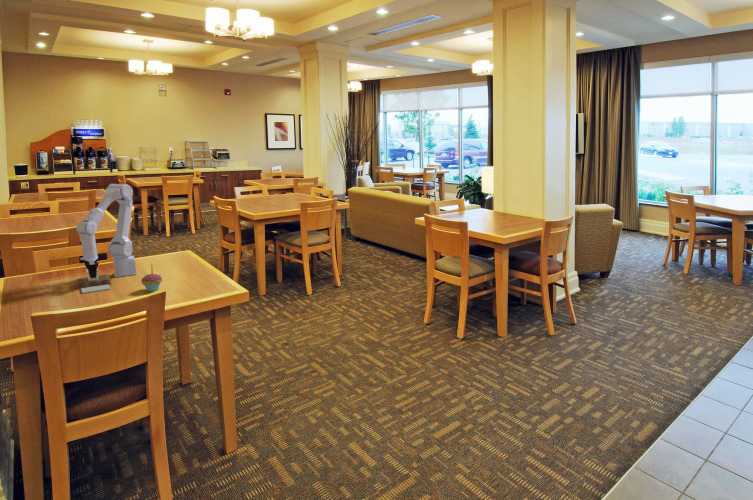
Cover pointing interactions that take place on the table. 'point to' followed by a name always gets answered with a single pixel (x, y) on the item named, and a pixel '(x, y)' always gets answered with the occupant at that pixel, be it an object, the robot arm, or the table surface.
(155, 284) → the cupcake
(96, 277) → the cream block
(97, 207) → the robot arm
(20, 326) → the table surface
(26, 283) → the table surface
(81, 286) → the pocket board
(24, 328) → the table surface
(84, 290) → the grey mat
